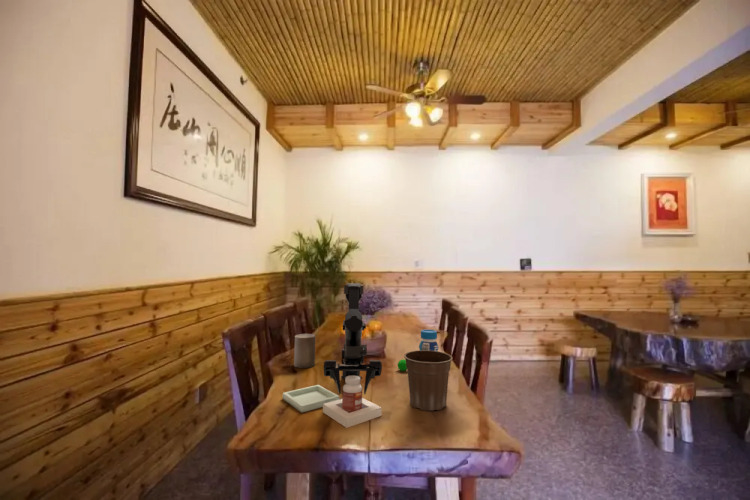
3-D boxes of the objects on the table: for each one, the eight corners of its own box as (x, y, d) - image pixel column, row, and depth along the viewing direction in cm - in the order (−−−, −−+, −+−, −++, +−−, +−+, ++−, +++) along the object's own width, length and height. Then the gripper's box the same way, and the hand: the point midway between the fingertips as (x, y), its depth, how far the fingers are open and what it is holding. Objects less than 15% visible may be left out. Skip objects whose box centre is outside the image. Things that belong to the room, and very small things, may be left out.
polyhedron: (396, 369, 151) (397, 358, 152) (407, 369, 152) (407, 358, 152) (398, 372, 146) (398, 361, 147) (409, 372, 147) (409, 361, 147)
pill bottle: (357, 419, 99) (358, 381, 99) (338, 416, 101) (339, 379, 101) (364, 411, 105) (365, 375, 105) (346, 408, 106) (347, 373, 107)
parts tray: (318, 390, 122) (318, 384, 122) (339, 402, 112) (339, 396, 112) (282, 398, 113) (282, 392, 114) (301, 412, 103) (301, 406, 103)
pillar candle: (319, 364, 155) (320, 332, 156) (304, 369, 147) (305, 335, 148) (304, 361, 160) (305, 330, 162) (289, 366, 152) (290, 333, 153)
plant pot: (414, 416, 102) (414, 363, 103) (396, 397, 117) (397, 351, 118) (461, 411, 106) (461, 360, 107) (438, 393, 122) (438, 349, 123)
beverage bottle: (414, 377, 140) (415, 329, 141) (432, 375, 143) (432, 328, 144) (424, 383, 132) (425, 333, 133) (442, 381, 135) (443, 332, 136)
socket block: (356, 402, 112) (356, 394, 112) (381, 415, 102) (381, 407, 102) (322, 412, 103) (323, 403, 104) (346, 427, 93) (346, 418, 94)
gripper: (324, 335, 107) (320, 381, 96) (382, 335, 109) (384, 380, 97) (325, 353, 115) (322, 398, 103) (379, 353, 116) (381, 398, 104)
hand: (352, 393), depth 102 cm, fingers open, 7 cm apart
